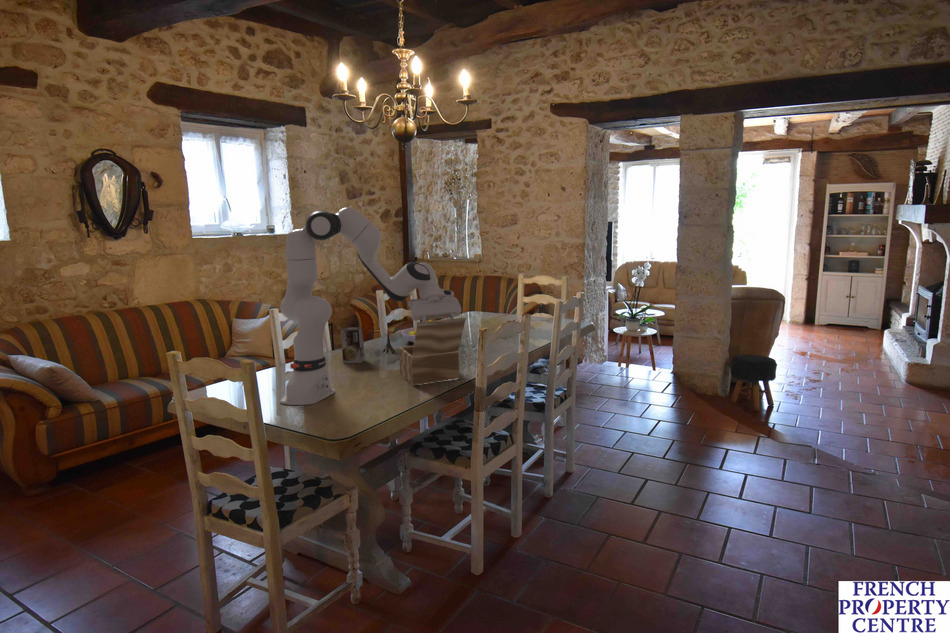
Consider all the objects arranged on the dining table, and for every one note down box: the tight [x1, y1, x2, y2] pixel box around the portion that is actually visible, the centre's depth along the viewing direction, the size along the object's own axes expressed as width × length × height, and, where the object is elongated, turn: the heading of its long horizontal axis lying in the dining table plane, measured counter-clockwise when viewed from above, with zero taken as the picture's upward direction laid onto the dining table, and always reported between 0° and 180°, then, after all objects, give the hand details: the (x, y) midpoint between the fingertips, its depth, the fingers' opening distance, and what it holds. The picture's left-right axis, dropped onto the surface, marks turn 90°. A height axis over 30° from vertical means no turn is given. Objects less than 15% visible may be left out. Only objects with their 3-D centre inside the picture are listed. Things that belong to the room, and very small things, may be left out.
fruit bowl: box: [400, 319, 434, 344], centre depth 313 cm, size 28×27×11 cm
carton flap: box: [412, 317, 467, 357], centre depth 228 cm, size 18×19×1 cm
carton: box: [398, 345, 460, 386], centre depth 244 cm, size 20×20×12 cm
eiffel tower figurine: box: [371, 328, 396, 356], centre depth 290 cm, size 15×10×13 cm
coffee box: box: [340, 326, 365, 364], centre depth 273 cm, size 9×6×16 cm
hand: (440, 325), depth 224 cm, fingers open, 8 cm apart
